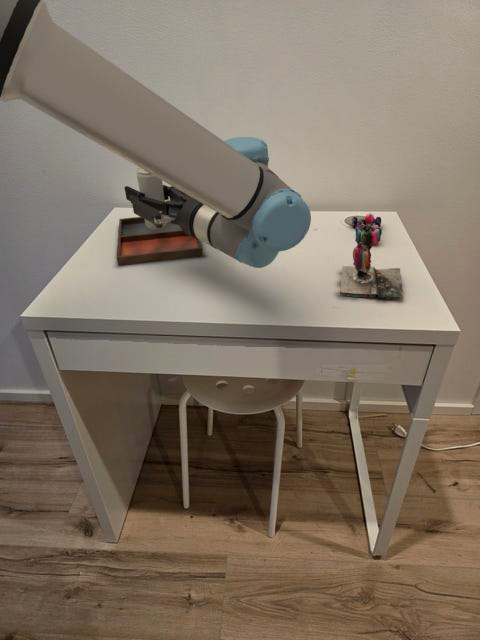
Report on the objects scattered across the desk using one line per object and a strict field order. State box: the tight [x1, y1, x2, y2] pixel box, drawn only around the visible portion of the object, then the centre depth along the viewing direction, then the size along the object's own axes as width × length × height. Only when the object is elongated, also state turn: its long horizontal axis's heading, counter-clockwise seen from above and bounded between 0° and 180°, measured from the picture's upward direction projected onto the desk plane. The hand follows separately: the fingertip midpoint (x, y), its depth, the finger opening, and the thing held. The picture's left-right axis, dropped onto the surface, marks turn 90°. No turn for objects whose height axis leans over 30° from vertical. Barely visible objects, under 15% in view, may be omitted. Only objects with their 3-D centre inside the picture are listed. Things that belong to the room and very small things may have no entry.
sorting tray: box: [116, 216, 204, 266], centre depth 100 cm, size 18×20×2 cm
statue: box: [339, 212, 404, 301], centre depth 79 cm, size 11×9×15 cm
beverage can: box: [136, 167, 168, 229], centre depth 90 cm, size 5×5×12 cm
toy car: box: [351, 216, 382, 228], centre depth 100 cm, size 12×6×4 cm, turn 177°
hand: (138, 189), depth 93 cm, fingers closed on beverage can, 5 cm apart
